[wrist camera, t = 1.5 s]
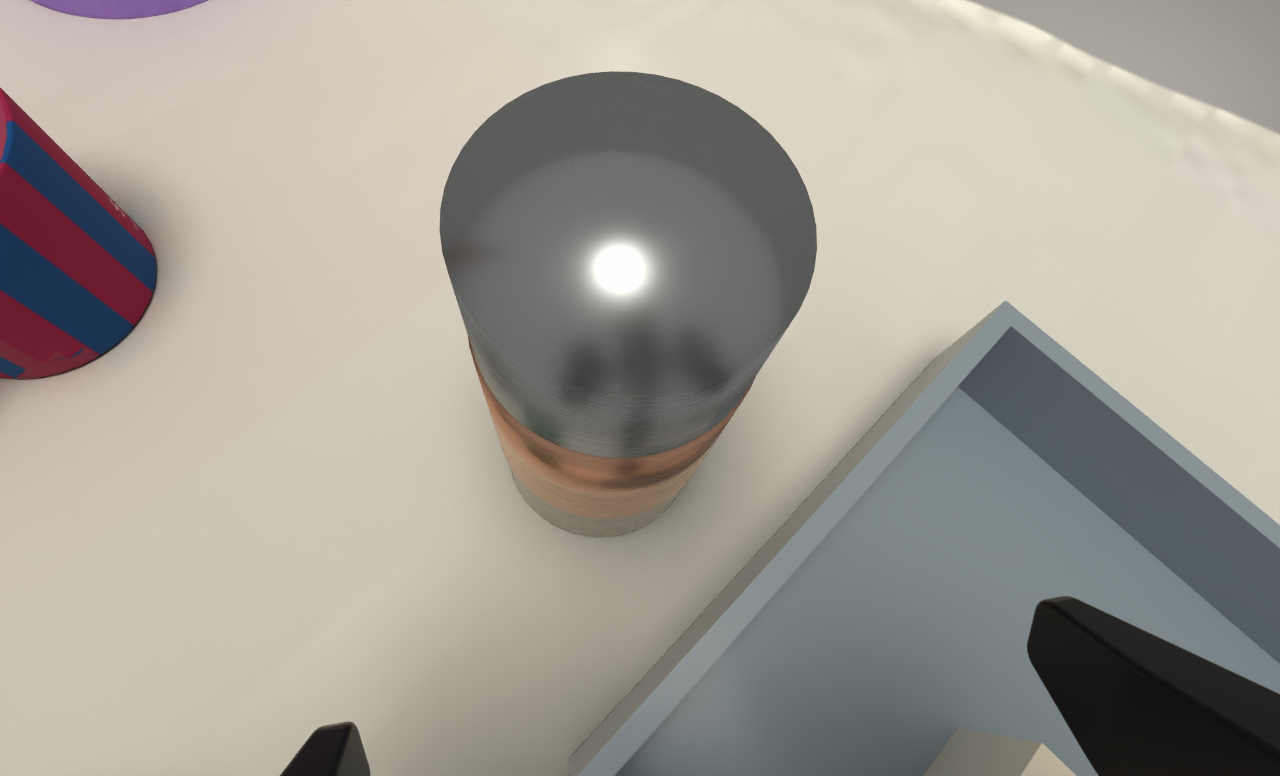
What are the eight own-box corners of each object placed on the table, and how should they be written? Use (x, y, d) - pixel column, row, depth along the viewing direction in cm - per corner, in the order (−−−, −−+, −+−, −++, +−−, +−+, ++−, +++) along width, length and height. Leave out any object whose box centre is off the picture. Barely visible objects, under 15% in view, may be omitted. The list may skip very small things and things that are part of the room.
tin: (729, 448, 24) (893, 231, 12) (597, 580, 22) (632, 484, 10) (602, 327, 25) (632, 15, 13) (467, 442, 23) (352, 204, 11)
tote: (1385, 746, 22) (1573, 766, 18) (1097, 1358, 17) (1273, 1593, 12) (934, 358, 26) (1005, 300, 21) (569, 758, 20) (569, 784, 16)
